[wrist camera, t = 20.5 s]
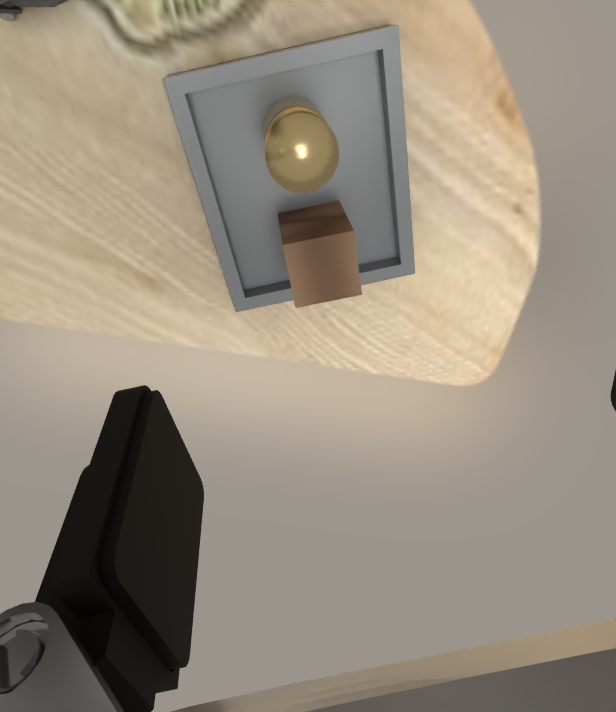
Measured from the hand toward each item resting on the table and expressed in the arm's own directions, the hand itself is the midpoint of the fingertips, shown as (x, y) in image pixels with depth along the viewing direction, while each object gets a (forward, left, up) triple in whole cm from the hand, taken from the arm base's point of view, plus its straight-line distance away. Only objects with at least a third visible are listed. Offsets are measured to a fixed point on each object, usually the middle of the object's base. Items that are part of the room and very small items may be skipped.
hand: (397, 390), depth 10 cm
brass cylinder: (0, 0, -28) cm, 28 cm away
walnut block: (0, -7, -28) cm, 28 cm away
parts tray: (0, -3, -28) cm, 29 cm away
